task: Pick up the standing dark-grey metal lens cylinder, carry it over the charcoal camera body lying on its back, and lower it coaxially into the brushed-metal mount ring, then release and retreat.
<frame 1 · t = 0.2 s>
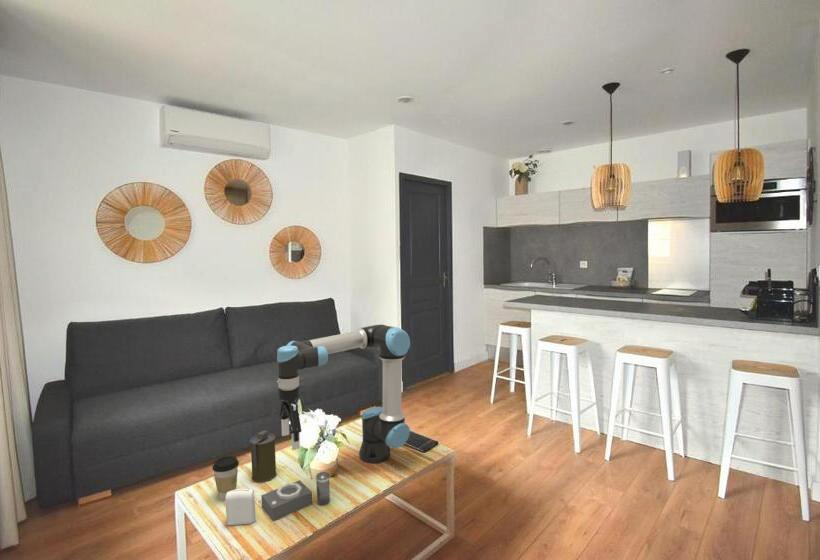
hand: (290, 441, 160), 27 cm above the table, fingers open, 13 cm apart
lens: (323, 501, 167), on the table
canister: (263, 477, 186), on the table
coffee cup: (227, 497, 171), on the table
photo printer: (241, 522, 155), on the table
camera body: (289, 504, 165), on the table
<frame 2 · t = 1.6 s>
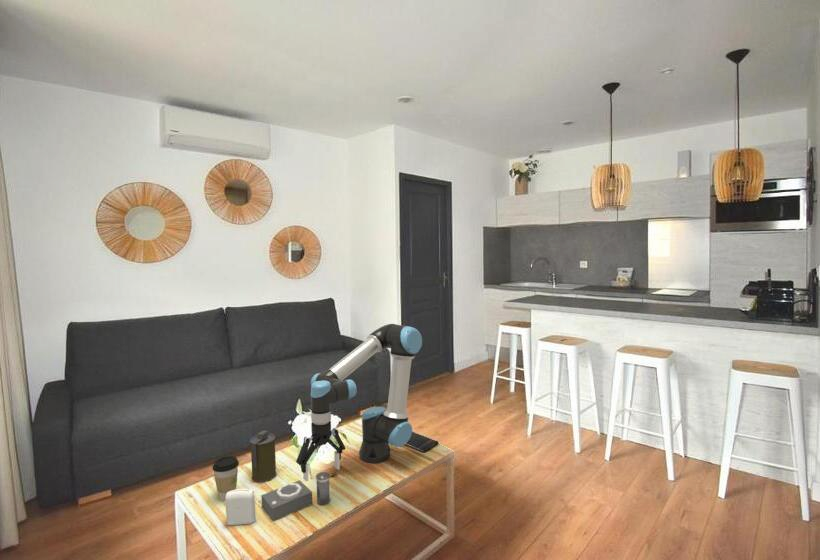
hand: (321, 473, 166), 12 cm above the table, fingers open, 13 cm apart
nothing on the table moved.
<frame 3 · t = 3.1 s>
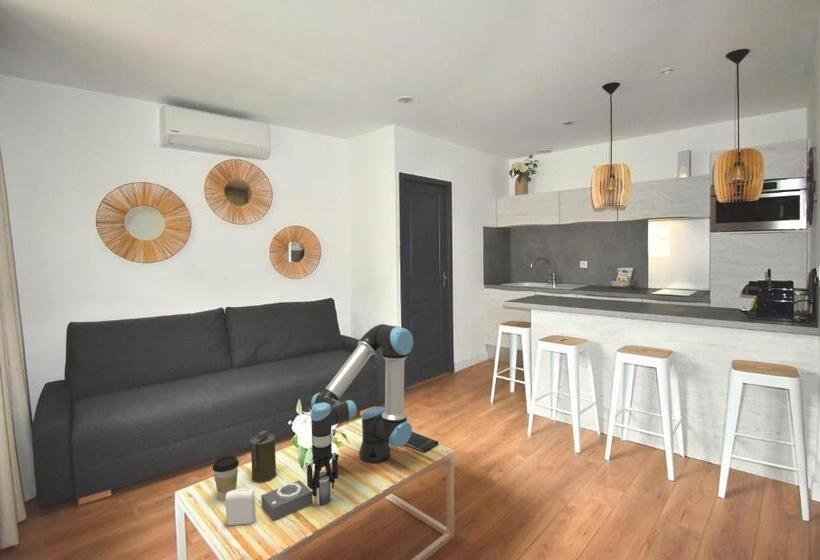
hand: (323, 499, 167), 1 cm above the table, fingers closed on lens, 5 cm apart
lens: (323, 501, 167), on the table, touching gripper
everything else where it was.
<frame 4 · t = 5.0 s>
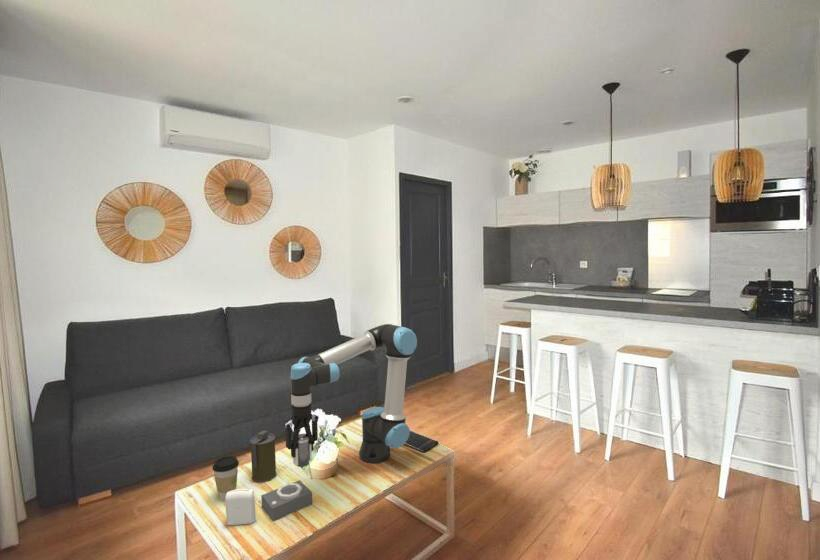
hand: (302, 461, 164), 17 cm above the table, fingers closed on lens, 5 cm apart
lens: (302, 463, 164), point 17 cm above the table, touching gripper
everything else where it was.
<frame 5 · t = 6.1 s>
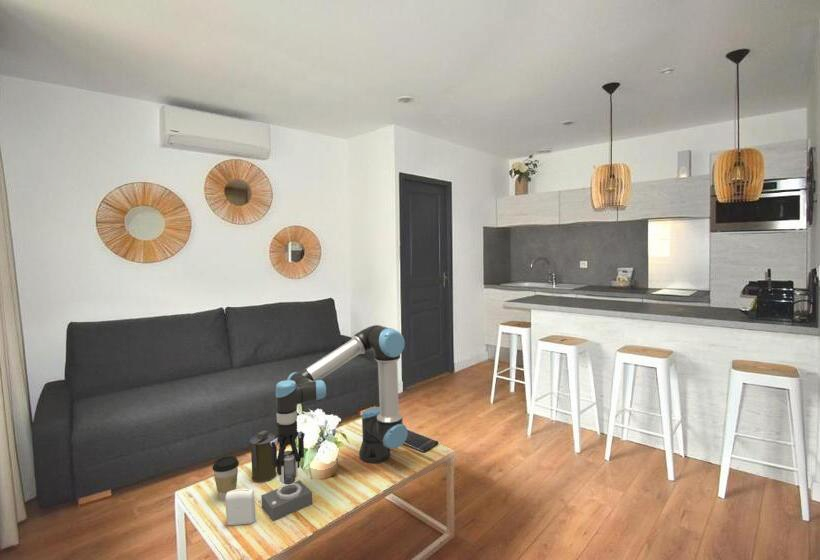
hand: (288, 478, 164), 11 cm above the table, fingers closed on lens, 5 cm apart
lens: (288, 480, 164), point 10 cm above the table, touching gripper
everything else where it was.
when the fingers open (8 cm above the table, at t = 6.9 s): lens drops 2 cm, resting on camera body.
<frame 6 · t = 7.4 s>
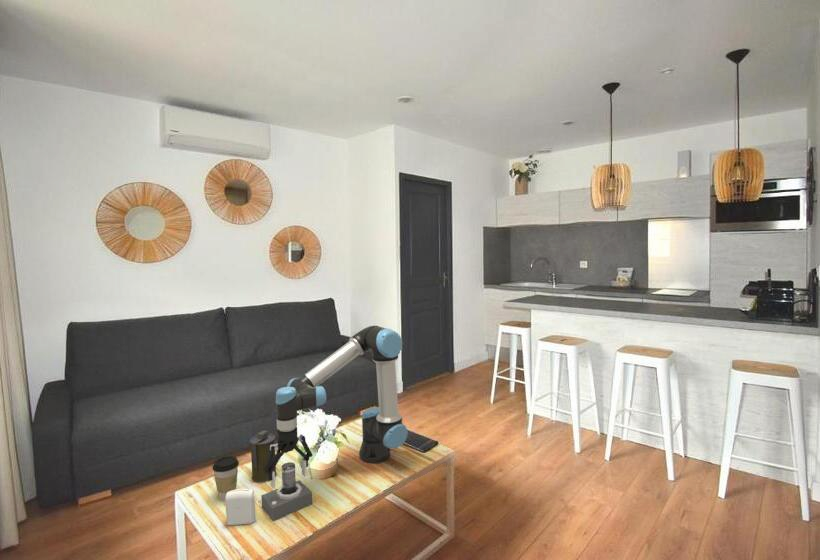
hand: (288, 481, 164), 10 cm above the table, fingers open, 12 cm apart
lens: (289, 492, 165), point 5 cm above the table, touching camera body
everything else where it was.
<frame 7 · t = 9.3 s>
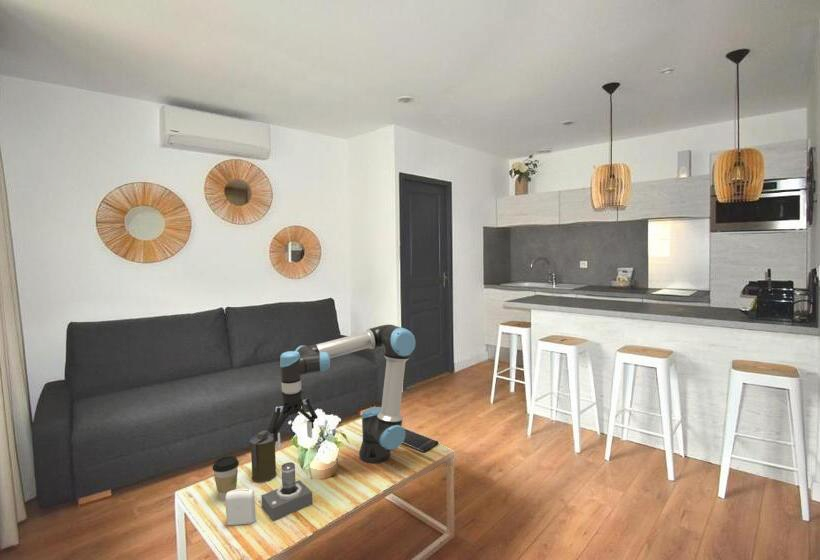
hand: (294, 442, 168), 23 cm above the table, fingers open, 13 cm apart
nothing on the table moved.
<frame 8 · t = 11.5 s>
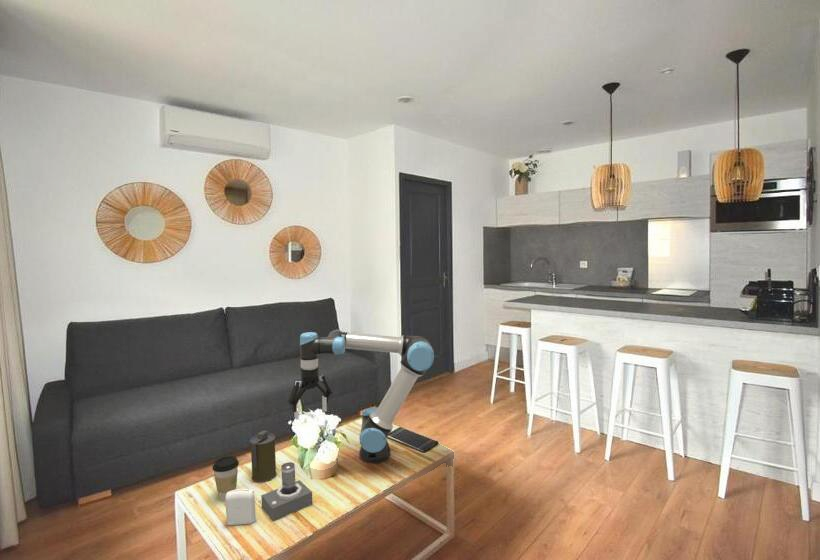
hand: (310, 414, 187), 27 cm above the table, fingers open, 13 cm apart
nothing on the table moved.
at the end: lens 0.0 cm off-centre on the camera body, point 5.0 cm above the camera body's base; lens tilted 1°; the gripper is holding nothing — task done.
